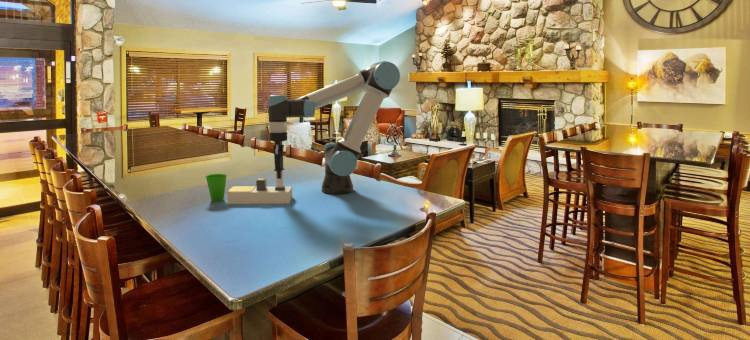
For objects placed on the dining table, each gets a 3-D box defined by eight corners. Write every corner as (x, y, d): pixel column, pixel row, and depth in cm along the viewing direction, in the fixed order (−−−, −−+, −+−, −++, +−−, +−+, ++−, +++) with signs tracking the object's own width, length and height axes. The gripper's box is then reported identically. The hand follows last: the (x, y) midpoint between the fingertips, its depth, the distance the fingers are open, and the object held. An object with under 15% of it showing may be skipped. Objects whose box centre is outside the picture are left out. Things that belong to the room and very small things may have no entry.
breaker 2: (285, 198, 210) (284, 184, 209) (284, 200, 206) (283, 186, 205) (276, 198, 210) (276, 184, 208) (275, 200, 206) (275, 186, 205)
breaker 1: (266, 192, 209) (266, 178, 208) (265, 194, 205) (264, 179, 204) (258, 192, 209) (257, 178, 207) (256, 194, 205) (256, 180, 204)
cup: (221, 203, 202) (220, 178, 200) (202, 202, 204) (200, 177, 202) (232, 198, 211) (230, 174, 209) (213, 197, 213) (212, 173, 211)
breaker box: (292, 197, 214) (292, 185, 213) (289, 203, 203) (288, 191, 202) (233, 197, 212) (233, 186, 211) (227, 203, 201) (227, 191, 200)
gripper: (271, 129, 208) (273, 182, 213) (266, 133, 196) (268, 188, 200) (289, 129, 209) (290, 182, 213) (284, 133, 196) (286, 188, 200)
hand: (279, 185), depth 207 cm, fingers closed
